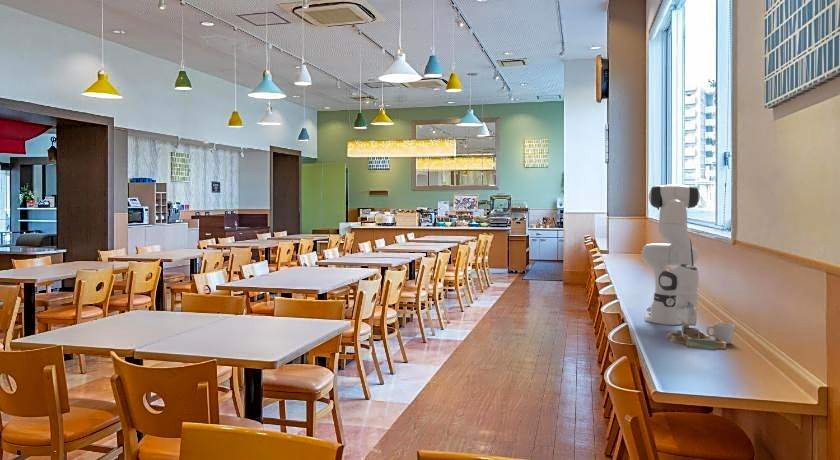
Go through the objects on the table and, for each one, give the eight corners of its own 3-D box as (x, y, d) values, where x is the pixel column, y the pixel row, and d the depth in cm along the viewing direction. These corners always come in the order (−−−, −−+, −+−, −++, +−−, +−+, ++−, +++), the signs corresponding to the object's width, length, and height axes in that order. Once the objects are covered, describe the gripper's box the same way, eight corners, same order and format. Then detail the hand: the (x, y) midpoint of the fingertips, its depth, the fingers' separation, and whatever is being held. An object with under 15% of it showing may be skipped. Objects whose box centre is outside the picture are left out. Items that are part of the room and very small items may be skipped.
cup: (705, 342, 275) (706, 323, 275) (706, 339, 282) (707, 320, 282) (733, 345, 270) (734, 327, 270) (734, 342, 277) (735, 323, 277)
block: (682, 338, 282) (683, 327, 282) (694, 339, 282) (695, 327, 281) (686, 340, 277) (686, 329, 277) (698, 341, 277) (699, 330, 276)
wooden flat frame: (666, 337, 282) (666, 329, 282) (712, 339, 280) (712, 332, 280) (677, 346, 265) (678, 338, 264) (727, 349, 262) (727, 341, 262)
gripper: (701, 305, 275) (699, 337, 276) (687, 298, 296) (685, 328, 296) (685, 304, 276) (684, 336, 277) (673, 297, 296) (671, 327, 297)
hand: (684, 332), depth 287 cm, fingers closed
